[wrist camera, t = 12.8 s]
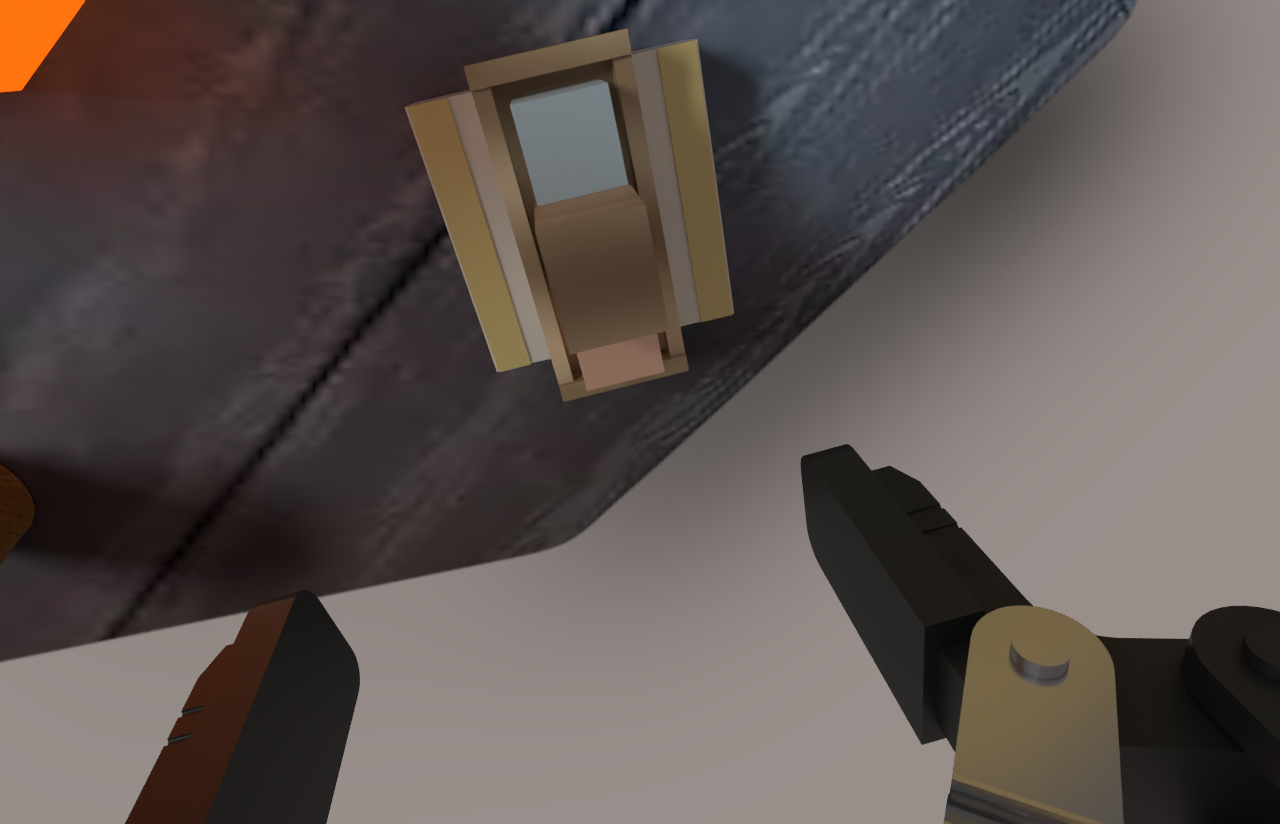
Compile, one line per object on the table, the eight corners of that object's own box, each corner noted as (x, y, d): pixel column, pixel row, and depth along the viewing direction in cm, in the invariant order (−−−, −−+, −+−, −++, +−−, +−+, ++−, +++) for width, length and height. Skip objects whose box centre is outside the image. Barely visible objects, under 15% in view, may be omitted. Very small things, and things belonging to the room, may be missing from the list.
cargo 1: (512, 98, 25) (509, 105, 22) (598, 78, 25) (607, 82, 22) (536, 188, 27) (537, 206, 24) (617, 169, 27) (628, 184, 24)
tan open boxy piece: (469, 65, 26) (445, 72, 18) (618, 30, 26) (654, 24, 18) (560, 376, 33) (570, 472, 25) (677, 347, 33) (720, 434, 25)
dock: (415, 101, 29) (404, 107, 26) (682, 39, 29) (698, 39, 26) (499, 347, 35) (496, 372, 32) (718, 293, 35) (734, 314, 32)
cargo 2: (562, 290, 29) (566, 317, 26) (637, 272, 29) (650, 297, 26) (581, 358, 31) (587, 391, 28) (651, 340, 31) (664, 371, 28)
